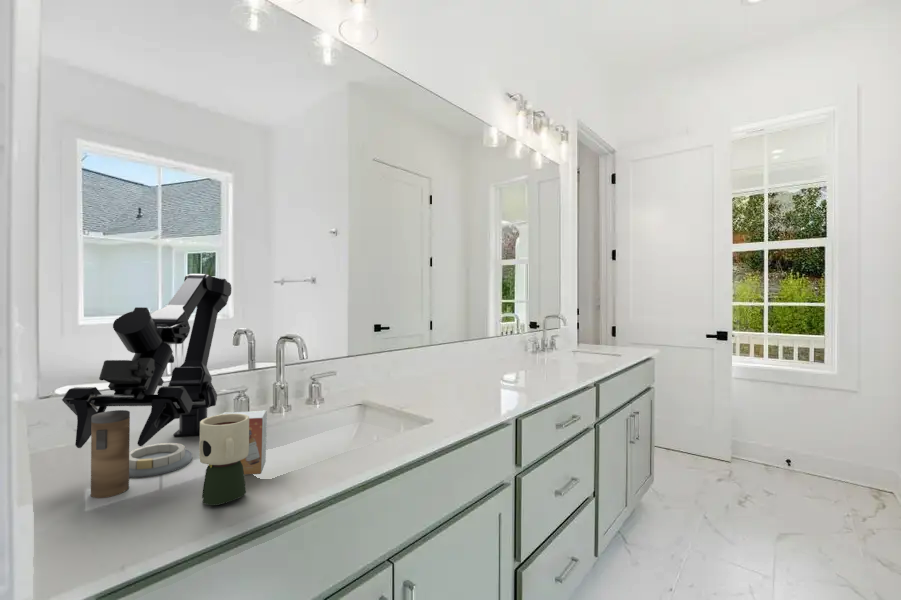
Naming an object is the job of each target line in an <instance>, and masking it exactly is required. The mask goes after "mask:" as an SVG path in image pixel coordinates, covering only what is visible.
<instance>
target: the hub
mask: <svg viewBox="0 0 901 600" xmlns="http://www.w3.org/2000/svg"><path fill="white" fill-rule="evenodd" d="M192 455H193V453H192V452H191V451H190V450H189V449H186V446H185V445H184V444H183V443H176V442H163V443H160V442H159V443H155V444H154V443H153V444H149V445H143V446H139V447H138V448H135V449H132V450H129V478H146V477H147V478H148V477H153V476H159V475H164V474H167V473H171V472H175V471H177V470H179V469H181V468H183V467H186V466H187V465H189V464H190V463H191V462H192V458H193V457H192Z"/></svg>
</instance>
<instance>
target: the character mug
mask: <svg viewBox="0 0 901 600" xmlns="http://www.w3.org/2000/svg"><path fill="white" fill-rule="evenodd" d="M221 414H222V413H221ZM221 414H217V415H212V416H207V418H205V419H203V420H201V421H200V435H199V443H198V450H199V451H198V452H199V454H198V455H199V457H198V458H199V462H200V463H202V464H204V465H208V466H207V467H206V469H205V474H204V481H203V484H202V485H203V487H202V492H201V493H202V494H201V499H202V503H203V504H205V505H207V506H219V505H221V504H222V505H223V504H227V503H229V502H231V501H235V500H238V499H240V498H241V497H244V496H245V494H246V493H247V489H246V479H245V475H244V470H243V465H242V463H241V461H240V460H242V459H244V458H246V457H247V456H248V453H249V416H247V415H245V414H222V415H221ZM226 502H227V503H226Z"/></svg>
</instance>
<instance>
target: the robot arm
mask: <svg viewBox="0 0 901 600" xmlns="http://www.w3.org/2000/svg"><path fill="white" fill-rule="evenodd" d="M232 290H233V289H232V284H231V282H228V281H227V279H226V278H218V277H215V276H212V275H210V274H207V273H189V274H186V275H185V277H184V281H183V283H182V284H181V285H180V287H179V289H177V291H176V292H175V294H174V295H173V296H172V298H171V299H170V300H169V302H168V303H167V305H166V306H165V307H163V308H159V309H157V310H154V311H153V312H152V313H151V312H150V310H149V308H148V307H135V308H134V309H133V311H129V312H126V313H124V314H122V315H120V316H119V317H117V318H116V319H115V320H114V321H113V322H112V323H113V324H112V329H113V330H114V331H115V334H116V335H117V336H118V338H119V340H120V341H121V342H122V344H123V346H124V347H125V349H126V350H127V351H128V352H130V353H131V354H134V355H133V357H132V358H131V360H128V359H126V360H125V359H123V360H122V359H119V360H118V359H114V360H113V359H110V360H108V359H107V360H104V361H103V365H102V368H101V371H100V375H99V378H98V379H99V380H100V381H105V382H107V383H109V384H108V386H107V387H108V389H109V390H110V391H114V393H113V394H102V393H101V392H100V390H99V389H98V388H97V387H95V386H90V387H88V386H86V387H83V386H81V387H80V386H79V387H77V386H76V387H75V386H74V387H71V388H69V389H68V390H67V391H65V394H64V396H63V397H62V399H61V401H62V402H63V403H64V404H65V405H66V406H67V407H68V408H69V410H70V411H71V412H72V413H73V414H74V415H75V416H76V418H77V419H76V420H77V422H76V423H77V424H76V434H75V445H74V446H75V447H76V448H77V449H81V448H83V447H84V445H85V444H86V443H87V442H88V440H89V439H90V438H91V417H92V416H93V415H95V414H98V413H102V412H106V410H107V407H151V409H150V414H149V415H148V417H147V419H146V421H145V424H144V426H143V428H142V430H141V432H140V435H139V437H138V439H137V446H138V447H144V446H145V444H146V443H147V442H149V441H150V440H151V439H153V437H154V436H156V434H158V433H159V432H160V431H161V430H162V429H163V428H165V427H166V426H167V425H169V424H171V423H172V422H173V421H174V420H176V419H177V420H178V419H179V421H178V422H179V425H178V426H179V428H178V429H177V430H176V431H175V432H174V433H173V435H172V436H173V437H184V436H200V421H201V420H203V419H205V418H208V409H209V408H211V407H215V406H217V400H218V393H217V391H216V390H215V388H214V386H213V384H212V381H213V380H212V379H213V378H212V376H211V374H210V371H209V370H208V363H209V362H208V361H209V357H210V354H211V353H210V352H211V348H212V342H213V337H214V335H215V334H214V332H215V328H216V324H217V318H218V314H219V313H220V311H222V310H223V309H224V308H225V307H226V306H227V304H228V301H229V297H230V296H231V294H232ZM195 310H196V311H195ZM194 311H195V315H194V319H193V323H192V328H191V326H190V324H189V320H190V318H191V316H192V314H193V313H194ZM190 331H191V333H190ZM189 334H190V335H189ZM188 337H189V340H188V346H187V349H186V350H187V351H186V354H185V356H184V357H185V359H184V362H183V363H182V364H181V365H179V366H174V368H173V369H172V372H171V377H170V380H169V383H168V385H166V386H163V384H164V382H165V381H164V380H163V375H164V374H165V370H166V368H167V366H168V365H169V364H173V363H175V356H174V355H173V353H174V352H173V351H174V350H172V347H171V346H170V345H181V344H183V343H184V342H185V340H186V339H187V338H188ZM158 387H159V388H158ZM157 388H158V390H157ZM156 390H157V392H156ZM155 393H157V394H155Z"/></svg>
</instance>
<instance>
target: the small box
mask: <svg viewBox="0 0 901 600" xmlns="http://www.w3.org/2000/svg"><path fill="white" fill-rule="evenodd" d="M222 414H245V415H247V416H249V453H248V456H247V457H246V458H244V459H242V460H240V461H241V463H242V465H243V470H244V476H247V475H249V476H250V475H261V474H262V473H263V469H264V468H265V464H266V462H267V460H266V458H267V457H266V456H267V423H268V422H267V419H268V418H267V416H268V410H266V409H265V410H264V409H263V410H254V411H236V412H235V411H233V412H232V411H231V412H228V411H226V412H225V411H224V412H222V413H221V414H220V415H222Z"/></svg>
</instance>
